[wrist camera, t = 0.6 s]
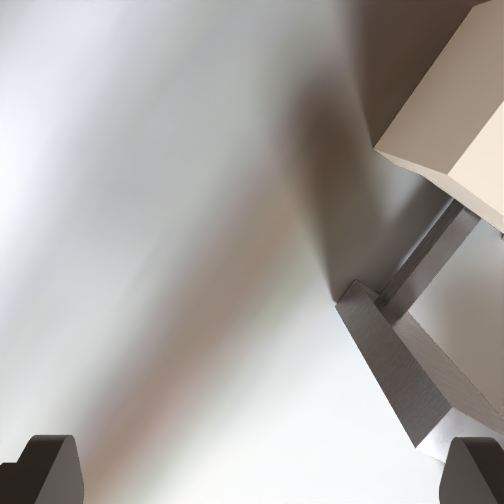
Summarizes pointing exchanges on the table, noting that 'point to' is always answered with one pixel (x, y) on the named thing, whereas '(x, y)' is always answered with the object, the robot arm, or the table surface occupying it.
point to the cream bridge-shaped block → (459, 118)
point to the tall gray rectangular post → (420, 347)
